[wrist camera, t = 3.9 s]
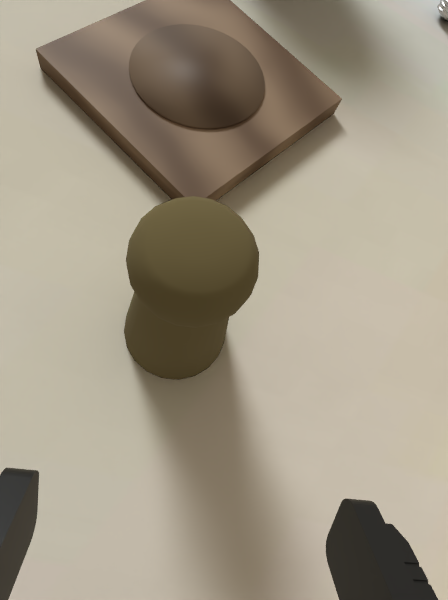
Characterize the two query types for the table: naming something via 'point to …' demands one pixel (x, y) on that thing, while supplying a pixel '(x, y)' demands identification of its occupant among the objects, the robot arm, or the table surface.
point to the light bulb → (443, 9)
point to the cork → (186, 284)
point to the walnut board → (189, 91)
